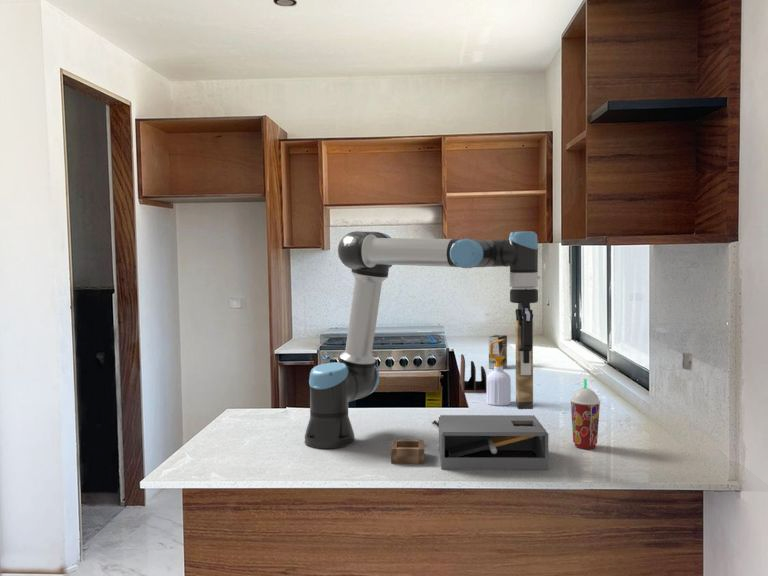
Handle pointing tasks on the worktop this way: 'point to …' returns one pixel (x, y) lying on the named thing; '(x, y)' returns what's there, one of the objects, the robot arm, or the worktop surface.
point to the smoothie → (585, 417)
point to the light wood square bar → (523, 376)
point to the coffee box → (498, 349)
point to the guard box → (478, 426)
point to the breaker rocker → (484, 445)
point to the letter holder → (472, 379)
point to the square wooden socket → (407, 452)
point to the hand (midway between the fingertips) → (524, 373)
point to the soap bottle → (498, 382)
